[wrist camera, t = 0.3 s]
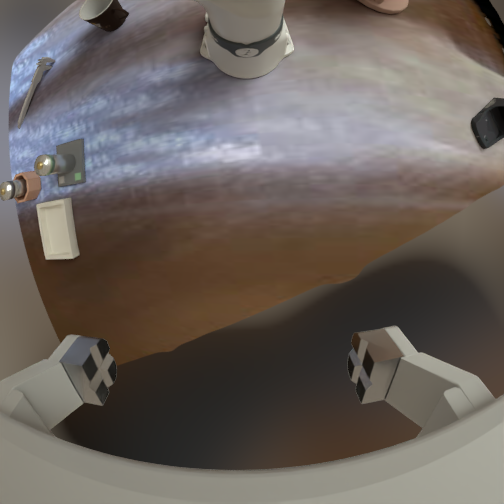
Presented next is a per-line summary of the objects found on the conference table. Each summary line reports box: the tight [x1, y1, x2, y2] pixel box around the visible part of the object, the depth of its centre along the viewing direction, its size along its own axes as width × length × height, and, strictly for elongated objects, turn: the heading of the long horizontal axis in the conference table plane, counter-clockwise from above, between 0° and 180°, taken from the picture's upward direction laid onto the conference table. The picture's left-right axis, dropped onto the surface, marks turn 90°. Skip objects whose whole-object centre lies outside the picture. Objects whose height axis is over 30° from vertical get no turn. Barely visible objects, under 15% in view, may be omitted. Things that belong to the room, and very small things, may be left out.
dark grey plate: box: [56, 139, 86, 187], centre depth 50 cm, size 10×8×1 cm
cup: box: [13, 171, 41, 203], centre depth 49 cm, size 7×7×5 cm
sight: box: [471, 98, 504, 148], centre depth 41 cm, size 9×18×10 cm, turn 130°
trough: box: [36, 198, 80, 259], centre depth 54 cm, size 14×10×3 cm
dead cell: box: [0, 179, 27, 200], centre depth 46 cm, size 4×4×11 cm
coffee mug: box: [79, 0, 129, 31], centre depth 35 cm, size 12×9×10 cm
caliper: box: [18, 57, 55, 129], centre depth 41 cm, size 20×1×6 cm, turn 143°
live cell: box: [34, 154, 76, 176], centre depth 44 cm, size 4×4×11 cm
